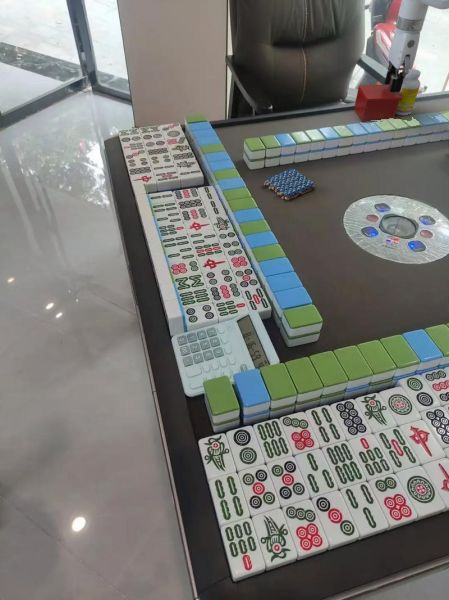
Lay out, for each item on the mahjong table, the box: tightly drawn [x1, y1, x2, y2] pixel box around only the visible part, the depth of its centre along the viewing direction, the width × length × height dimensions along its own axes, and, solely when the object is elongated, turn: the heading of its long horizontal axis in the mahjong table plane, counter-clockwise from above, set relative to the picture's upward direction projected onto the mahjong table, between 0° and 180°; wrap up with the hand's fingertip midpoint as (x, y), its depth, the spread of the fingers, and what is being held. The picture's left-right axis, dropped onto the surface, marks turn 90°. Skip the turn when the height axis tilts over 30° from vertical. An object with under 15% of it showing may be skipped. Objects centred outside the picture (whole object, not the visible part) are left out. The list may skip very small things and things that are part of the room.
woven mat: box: [263, 168, 317, 201], centre depth 117 cm, size 10×11×2 cm
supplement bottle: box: [395, 68, 422, 116], centre depth 141 cm, size 7×7×13 cm
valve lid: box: [358, 73, 402, 101], centre depth 138 cm, size 11×10×5 cm
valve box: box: [353, 87, 399, 123], centre depth 143 cm, size 10×10×7 cm
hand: (392, 87), depth 139 cm, fingers closed on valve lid, 5 cm apart
